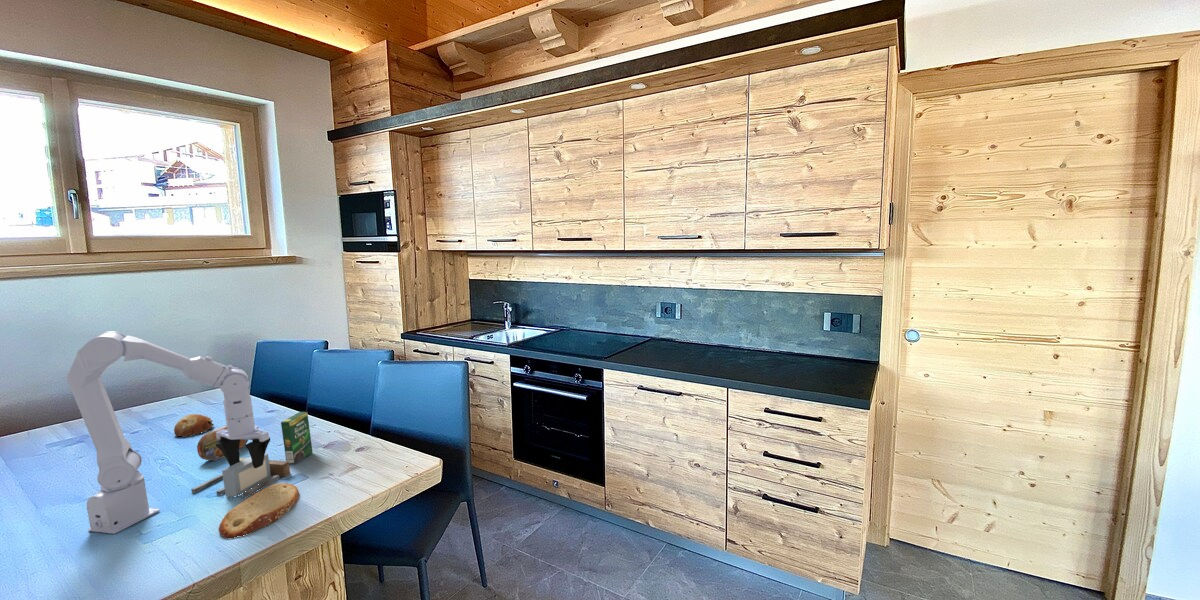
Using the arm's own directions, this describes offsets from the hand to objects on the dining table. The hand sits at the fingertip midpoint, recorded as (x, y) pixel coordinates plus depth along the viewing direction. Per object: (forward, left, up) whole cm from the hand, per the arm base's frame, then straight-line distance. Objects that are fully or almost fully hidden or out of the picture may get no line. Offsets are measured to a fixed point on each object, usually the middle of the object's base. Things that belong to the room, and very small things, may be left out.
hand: (246, 465), depth 128 cm
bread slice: (-10, -14, -7) cm, 18 cm away
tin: (+16, +27, -6) cm, 32 cm away
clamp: (+1, +4, -6) cm, 7 cm away
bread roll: (+31, +57, -6) cm, 65 cm away
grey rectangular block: (0, 0, -6) cm, 6 cm away
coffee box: (+16, 0, -6) cm, 17 cm away
